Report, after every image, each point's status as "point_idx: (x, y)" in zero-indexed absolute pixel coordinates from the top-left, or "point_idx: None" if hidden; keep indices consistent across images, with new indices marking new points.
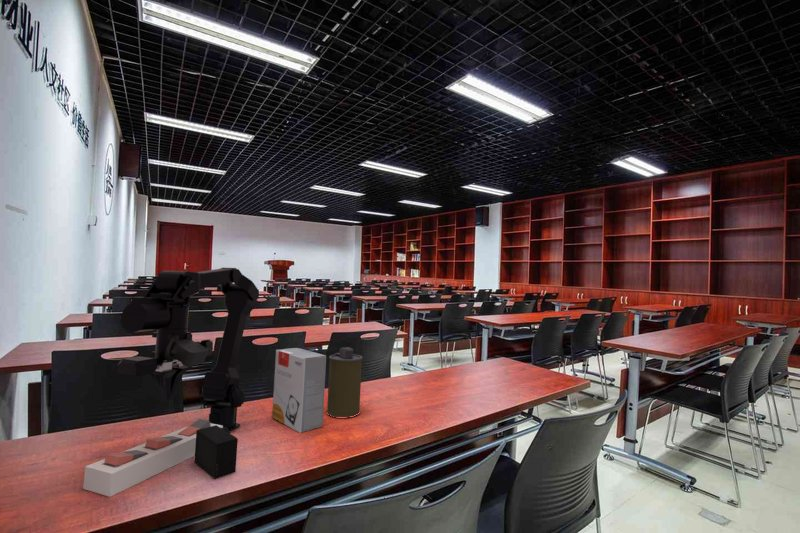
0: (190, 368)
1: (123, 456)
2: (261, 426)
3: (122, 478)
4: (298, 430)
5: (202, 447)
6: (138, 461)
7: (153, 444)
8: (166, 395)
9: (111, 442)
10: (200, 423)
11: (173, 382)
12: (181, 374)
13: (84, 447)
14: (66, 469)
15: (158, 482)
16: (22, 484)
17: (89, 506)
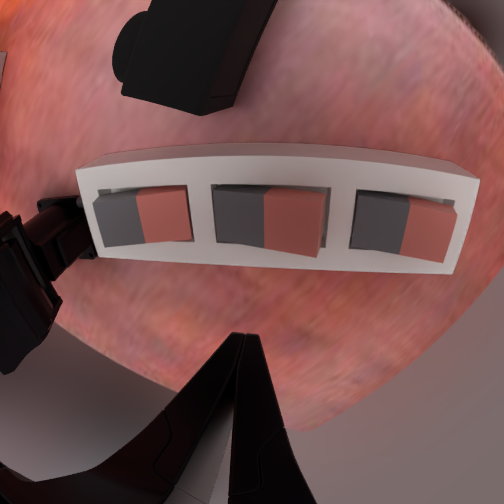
0: (8, 479)
1: (443, 212)
2: (18, 157)
3: (443, 166)
4: (2, 59)
5: (238, 50)
6: (412, 172)
7: (322, 216)
8: (267, 366)
9: None
10: (117, 219)
11: (199, 443)
12: (108, 477)
13: (283, 378)
14: (367, 337)
15: (369, 102)
16: (421, 340)
17: (480, 170)
